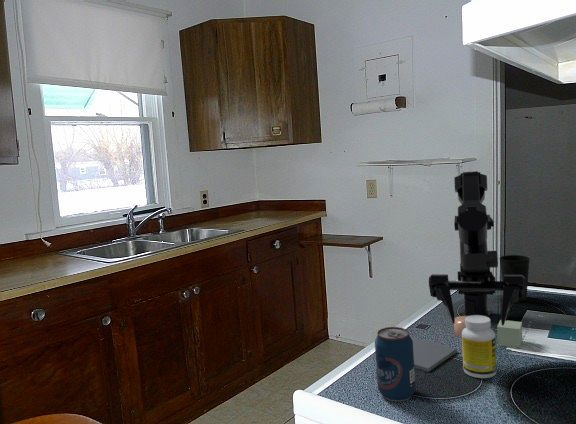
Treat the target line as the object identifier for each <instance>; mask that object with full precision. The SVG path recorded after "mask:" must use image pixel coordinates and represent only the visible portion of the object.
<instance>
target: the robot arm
mask: <svg viewBox="0 0 576 424" xmlns="http://www.w3.org/2000/svg"><path fill="white" fill-rule="evenodd" d="M486 191H488V175H486V174H483V173H481V171H463V172H462V173H461V172H460V175H457V176H454V193H457V199H458V202H460V205H459V206H457V215H454V219H453V221H454V231H457V232H458V238H459V255H460V258H459V260H460V261H459V262H460V263H459V269H460V270H459V271H457V280H449V274H445V273H444V274H443V273H442V274H439V273H438V274H437V273H436V274H431V275H430V276H428V288H429V294H430V297H432V298H436V300H437V301H440V302H442V304H443V305H444V307H445V308H446V311H447V312H448V315H449V318H450V321H451V322H452V324H453V325H454V324H455V318H456V317H455V312H454V304H453V300H452V295H451V294H452V293H451V291H458V295H463V296H464V298H463V299H464V300H463V301H464V303H463V304H464V310H463V311H462V312H460V313H459V316H471V315H481V316H486V317H488V318H490V316H492V315H493V314H494V311H492V310H489V309H488V308H489V306H488V305H489V304H488V302H489V301H488V296H489V295H490V296H493V295H494V294H496V292H498V291H499V292H501V291H502V300H501V301H502V302H501V303H502V304H501V317H500V320H501V323H502V325H504V323H505V320H506V321H507V317H508V312H509V310H510V308H511V306H512V305H513V303H519V302H518V299H523V298H525V291H526V280H525V277H523V276H522V275H504V277H503V280H502V281H500V280H499V281H497V280H496V277H495V276H494V274H493V271H491V269H492V268H493V269H494V268H498V266H499V261H498V260H499V259H498V257H499V256H498V251H497V250H488V240H487V239H488V231H490V230H492V227H495V225H494V224H495V223H494V219H493V218H492V217H491V215H490V214H488V213H487V206H486V205H484V204H483V202H484V200H485V195H486V194H485V193H486Z"/></svg>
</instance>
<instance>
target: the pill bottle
mask: <svg viewBox="0 0 576 424" xmlns="http://www.w3.org/2000/svg"><path fill="white" fill-rule="evenodd" d="M491 325H492V323H491V318H490V317H486V316H481V315H471V316H467V317H466V318H465V326H466V328H464V329H463V331H462V338H461V347H462V348H461V349H462V369H463V371H464V373H465V374H466V375H468V376H470V377H472V378H476V379H490V378H492V377H494V376H495V375H496V374H497V371H498V370H497V368H498V367H497V366H498V365H497V347H496V346H497V345H496V333H495V331H494V330H493V329H492V328H491V327H492V326H491Z"/></svg>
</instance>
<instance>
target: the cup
mask: <svg viewBox="0 0 576 424" xmlns="http://www.w3.org/2000/svg"><path fill="white" fill-rule="evenodd" d="M499 264H500V271H501V278H502V279H501V280H502V281H503V277H504V275H522V276H523V277H525V280H526V291H525V298H523V299H518V302H517V303H521V302H526V301H527V300H528V299H527V297H528V287H529V286H528V282H529V271H530V257H528V256H525V255H521V254H509V255H507V254H506V255H502V256H500V257H499Z"/></svg>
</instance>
